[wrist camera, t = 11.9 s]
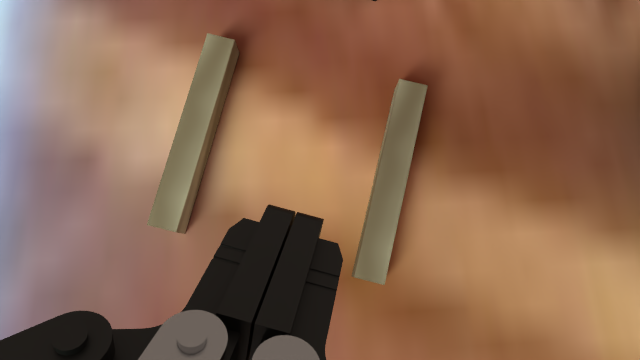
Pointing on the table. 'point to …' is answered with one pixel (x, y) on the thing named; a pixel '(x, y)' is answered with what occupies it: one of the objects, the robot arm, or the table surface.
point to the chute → (201, 128)
